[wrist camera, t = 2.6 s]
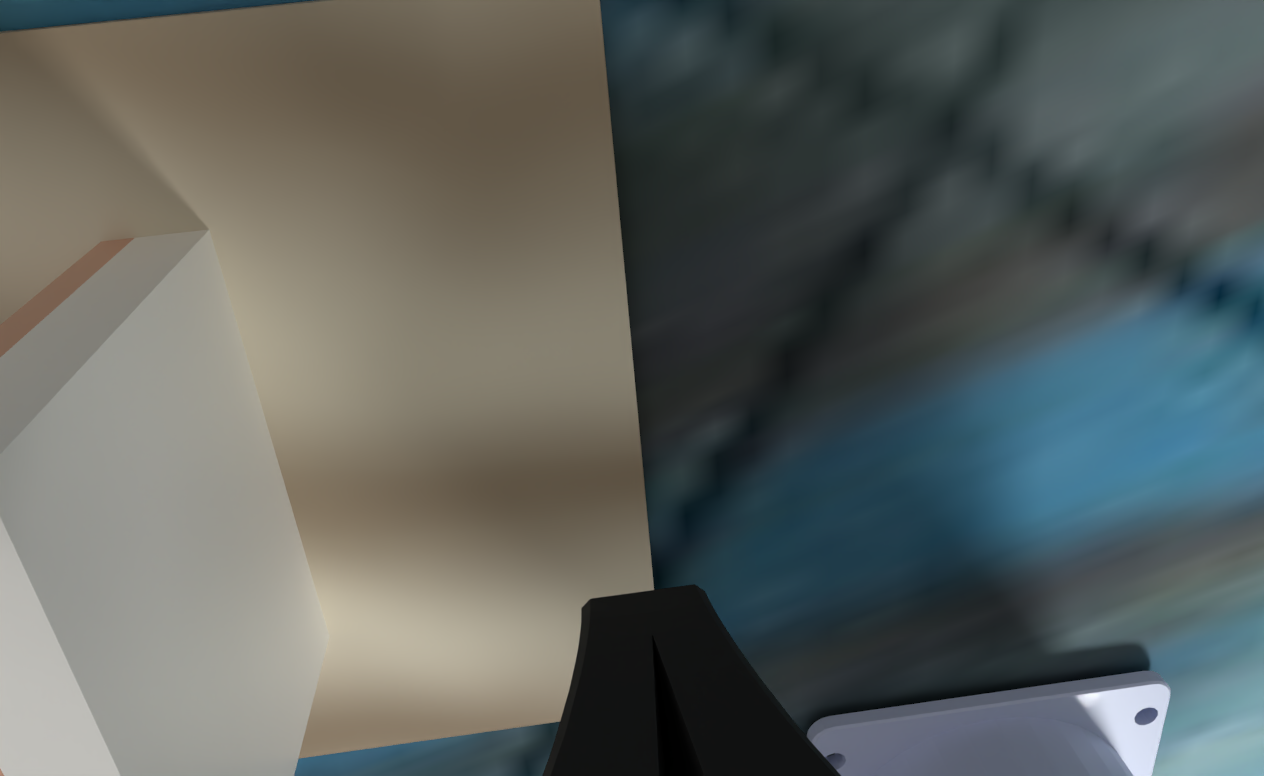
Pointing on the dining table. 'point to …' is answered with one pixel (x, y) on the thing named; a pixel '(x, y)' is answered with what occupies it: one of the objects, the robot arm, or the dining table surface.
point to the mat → (381, 310)
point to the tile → (146, 531)
